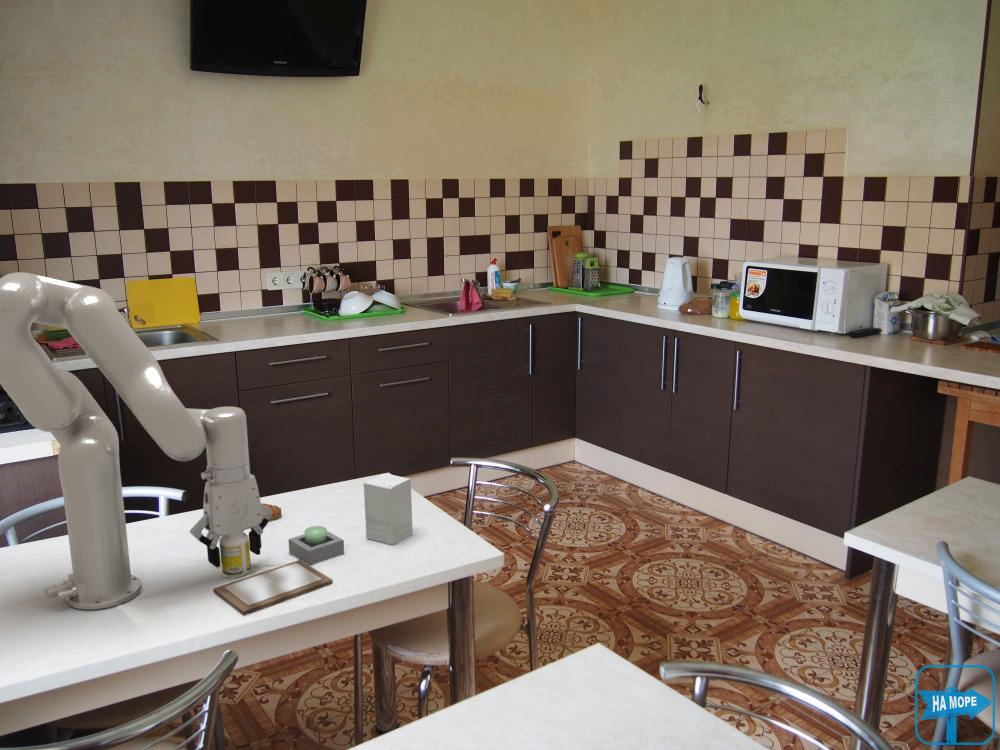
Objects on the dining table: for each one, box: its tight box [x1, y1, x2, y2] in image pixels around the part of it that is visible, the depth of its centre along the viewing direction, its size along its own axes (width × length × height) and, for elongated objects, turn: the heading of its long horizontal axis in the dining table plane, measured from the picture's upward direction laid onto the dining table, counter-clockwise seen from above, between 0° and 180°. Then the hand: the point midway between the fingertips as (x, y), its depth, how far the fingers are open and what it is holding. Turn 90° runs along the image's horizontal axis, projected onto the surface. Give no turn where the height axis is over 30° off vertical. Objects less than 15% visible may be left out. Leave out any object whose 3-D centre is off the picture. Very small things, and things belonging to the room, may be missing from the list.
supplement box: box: [363, 473, 413, 545], centre depth 182 cm, size 7×7×13 cm
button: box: [303, 525, 328, 544], centre depth 174 cm, size 4×4×2 cm
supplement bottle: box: [218, 530, 252, 579], centre depth 166 cm, size 5×5×10 cm
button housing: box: [288, 530, 345, 566], centre depth 175 cm, size 8×8×3 cm
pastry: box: [261, 502, 282, 522], centre depth 193 cm, size 9×7×4 cm
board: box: [213, 559, 334, 616], centre depth 160 cm, size 18×12×1 cm, turn 133°
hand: (235, 558), depth 166 cm, fingers open, 7 cm apart
